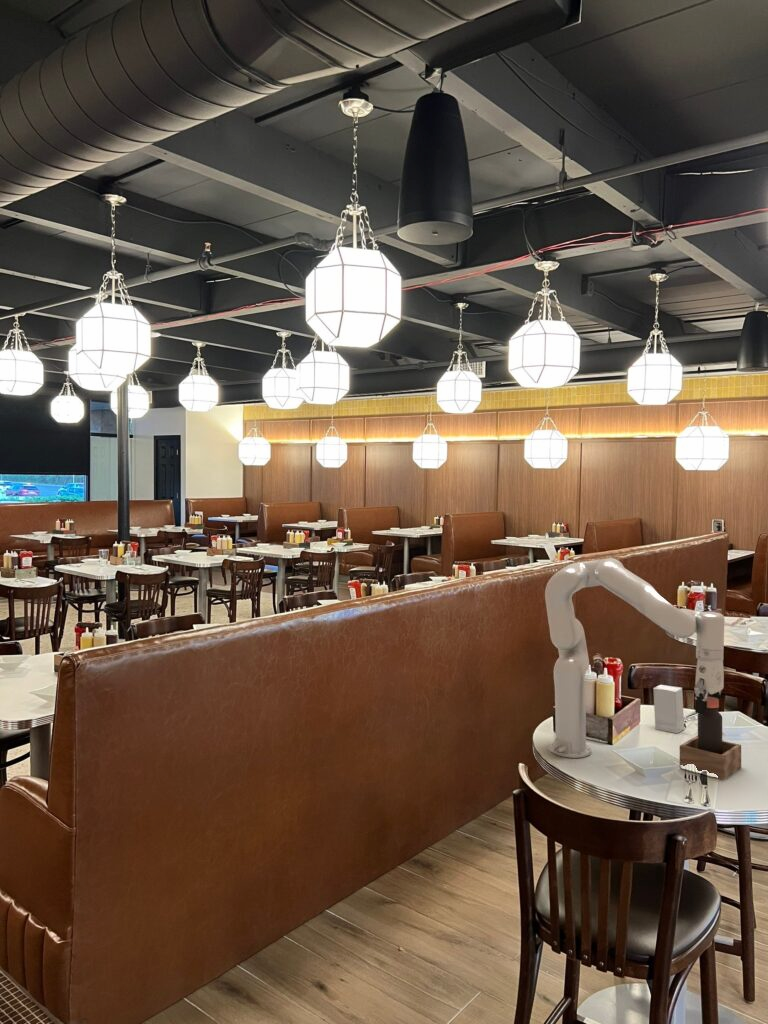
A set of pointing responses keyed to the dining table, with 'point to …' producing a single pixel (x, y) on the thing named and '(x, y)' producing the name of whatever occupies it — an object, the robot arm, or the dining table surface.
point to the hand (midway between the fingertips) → (707, 710)
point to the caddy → (712, 758)
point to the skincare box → (668, 708)
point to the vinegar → (710, 728)
